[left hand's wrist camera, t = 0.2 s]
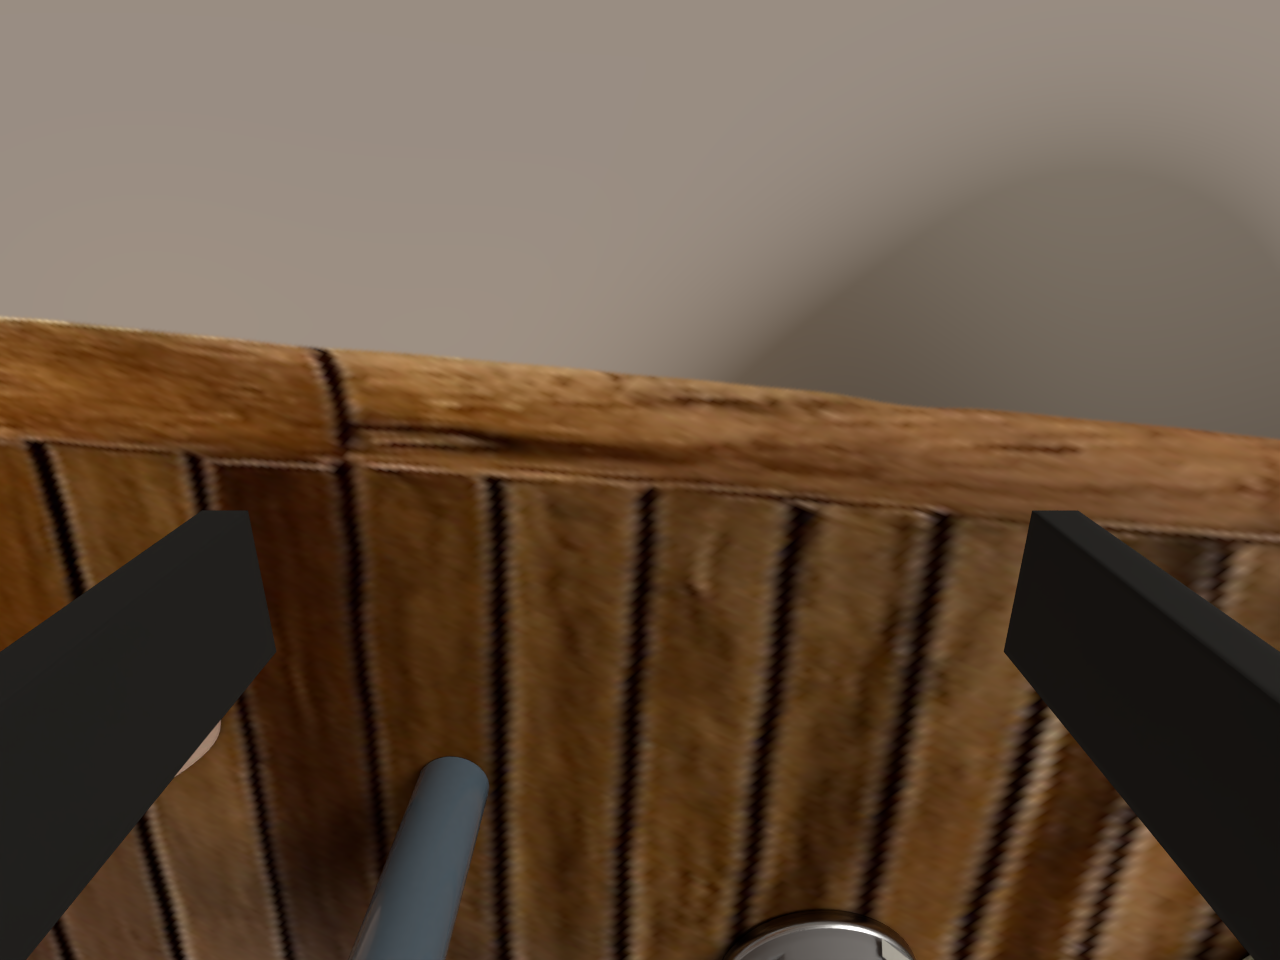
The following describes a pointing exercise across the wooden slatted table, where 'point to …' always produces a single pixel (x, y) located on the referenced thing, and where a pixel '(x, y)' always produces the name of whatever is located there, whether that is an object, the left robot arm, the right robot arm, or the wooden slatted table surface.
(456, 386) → the wooden slatted table surface
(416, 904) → the blue grey capped cylinder
